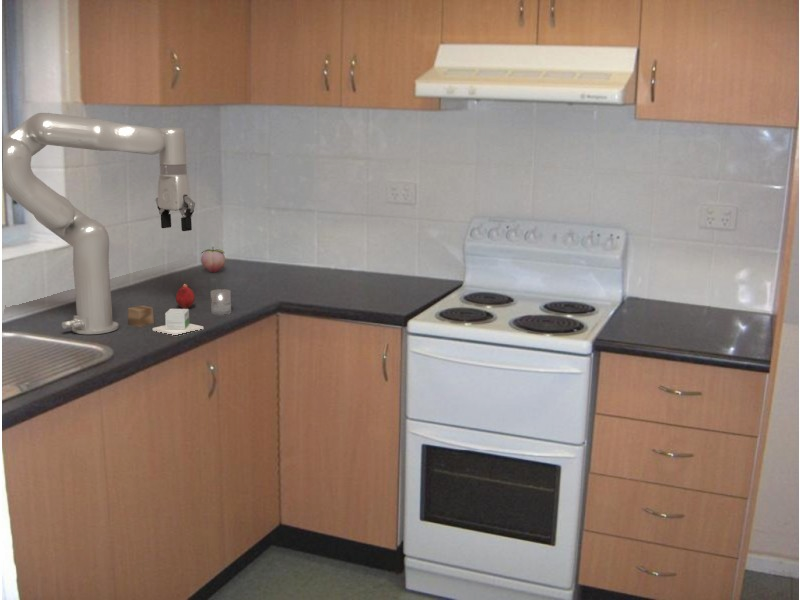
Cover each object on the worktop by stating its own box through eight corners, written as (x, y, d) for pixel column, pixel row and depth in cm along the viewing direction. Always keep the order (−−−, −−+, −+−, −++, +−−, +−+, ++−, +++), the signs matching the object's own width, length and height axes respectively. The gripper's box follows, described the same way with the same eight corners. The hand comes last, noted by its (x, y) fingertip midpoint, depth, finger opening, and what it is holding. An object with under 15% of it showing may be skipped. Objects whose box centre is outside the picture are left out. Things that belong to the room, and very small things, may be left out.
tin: (220, 316, 268) (219, 294, 266) (207, 313, 271) (206, 291, 270) (235, 312, 272) (234, 290, 271) (221, 310, 276) (221, 288, 274)
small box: (185, 329, 248) (184, 313, 247) (165, 329, 248) (164, 312, 247) (189, 324, 254) (189, 308, 252) (170, 324, 253) (169, 308, 252)
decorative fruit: (228, 270, 342) (227, 245, 340) (224, 274, 334) (223, 248, 332) (203, 270, 342) (202, 245, 339) (199, 274, 334) (198, 248, 331)
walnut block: (139, 327, 254) (138, 310, 253) (128, 324, 257) (127, 308, 256) (153, 324, 258) (152, 307, 257) (143, 321, 261) (142, 305, 260)
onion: (190, 311, 274) (189, 286, 272) (173, 310, 275) (172, 285, 273) (198, 307, 279) (197, 282, 277) (181, 306, 280) (180, 282, 278)
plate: (175, 336, 244) (175, 333, 244) (152, 330, 250) (152, 328, 250) (203, 329, 252) (203, 326, 252) (180, 324, 258) (180, 321, 258)
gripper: (144, 169, 257) (148, 227, 260) (181, 172, 246) (184, 233, 250) (166, 168, 262) (169, 225, 266) (202, 171, 252) (205, 230, 255)
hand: (176, 229), depth 258 cm, fingers open, 9 cm apart
